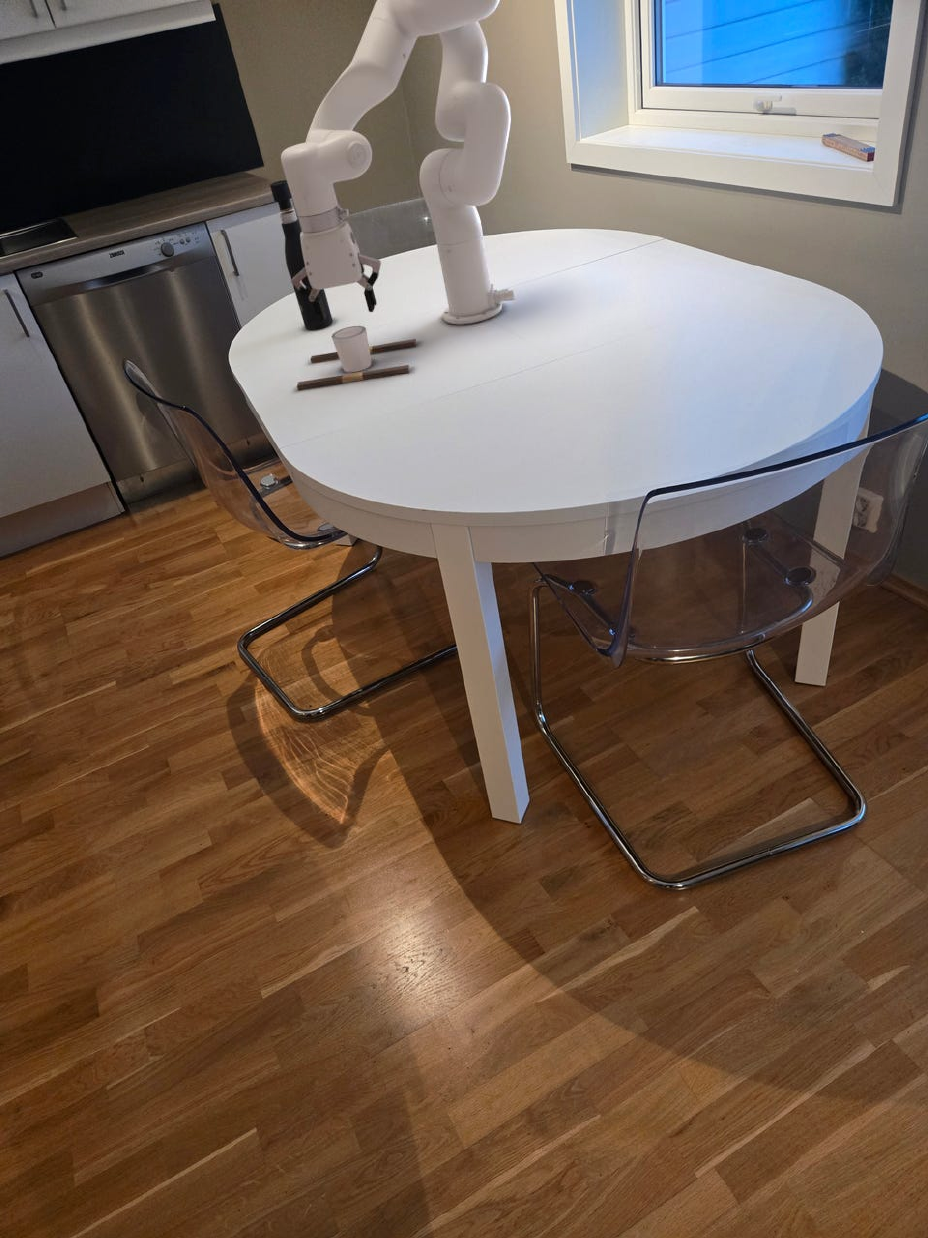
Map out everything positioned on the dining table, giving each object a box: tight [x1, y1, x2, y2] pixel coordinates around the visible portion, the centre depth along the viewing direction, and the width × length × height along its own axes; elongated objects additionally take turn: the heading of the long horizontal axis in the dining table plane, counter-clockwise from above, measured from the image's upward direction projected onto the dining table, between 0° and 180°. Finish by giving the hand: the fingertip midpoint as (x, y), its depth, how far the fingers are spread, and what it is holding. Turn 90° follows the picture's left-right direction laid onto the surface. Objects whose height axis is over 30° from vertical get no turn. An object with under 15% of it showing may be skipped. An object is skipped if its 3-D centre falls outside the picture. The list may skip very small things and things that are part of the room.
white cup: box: [331, 325, 372, 373], centre depth 171 cm, size 7×7×7 cm
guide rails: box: [296, 338, 417, 391], centre depth 173 cm, size 22×15×1 cm
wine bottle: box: [269, 179, 334, 331], centre depth 190 cm, size 6×6×30 cm
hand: (348, 314), depth 167 cm, fingers open, 9 cm apart
